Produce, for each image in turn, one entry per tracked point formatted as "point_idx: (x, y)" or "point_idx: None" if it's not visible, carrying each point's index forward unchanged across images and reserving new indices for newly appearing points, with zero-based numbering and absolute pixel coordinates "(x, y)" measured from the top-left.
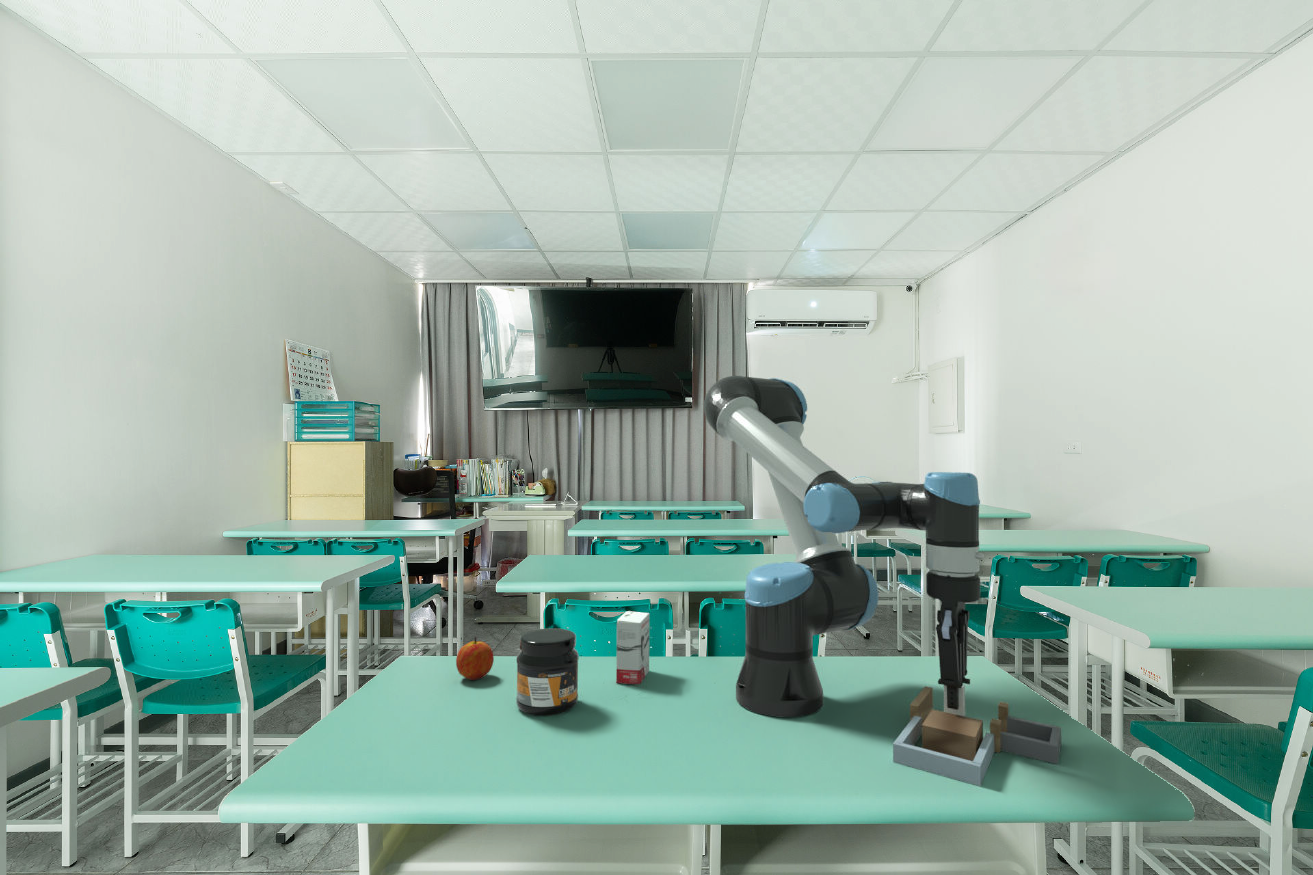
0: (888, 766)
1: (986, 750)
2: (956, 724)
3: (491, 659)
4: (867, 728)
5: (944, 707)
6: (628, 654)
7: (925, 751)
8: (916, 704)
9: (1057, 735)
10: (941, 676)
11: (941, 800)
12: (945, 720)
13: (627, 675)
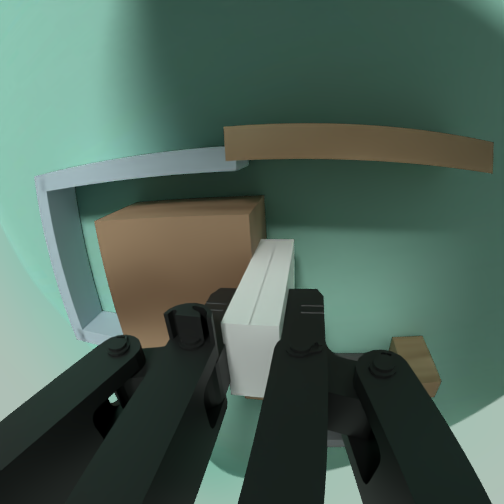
0: (46, 170)
1: None
2: (167, 308)
3: None
4: (180, 33)
5: (249, 267)
6: None
7: (49, 246)
8: (245, 148)
9: (332, 445)
10: (82, 363)
11: (31, 273)
12: (173, 276)
13: None
